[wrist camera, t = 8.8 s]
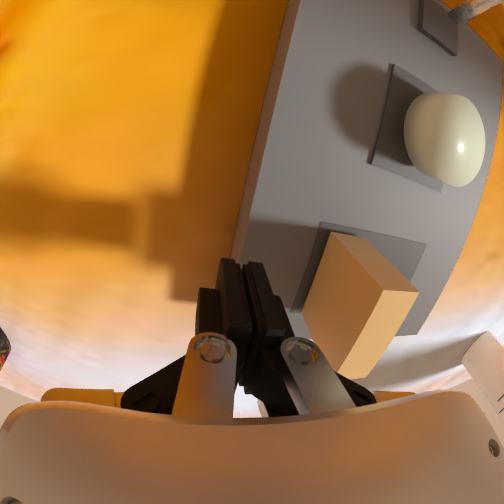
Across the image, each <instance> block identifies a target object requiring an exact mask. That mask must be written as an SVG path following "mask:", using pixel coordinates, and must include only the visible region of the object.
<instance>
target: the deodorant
mask: <svg viewBox="0 0 504 504" xmlns="http://www.w3.org/2000/svg"><path fill="white" fill-rule="evenodd" d="M10 351H11V346H10V342H9V340H8V338H7V336H6V335H5V333H4V332H3V330H2V329H1V328H0V371H1V369H2V367H3V365H4V363H5V361H6V359H7V357H8V355H9V353H10Z"/></svg>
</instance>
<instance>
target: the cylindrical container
mask: <svg viewBox="0 0 504 504" xmlns="http://www.w3.org/2000/svg"><path fill="white" fill-rule="evenodd" d="M461 362H462V364H463V365H464V367H465V368H466V369H467V371H468V372H469V373H470V375H471V376H472V378H473V379H474V380H475V382H476V383H477V385H478V386H479V387H480V389H481V390H482V392H483V393H484V395H485V396H486V398H487V399H488V400H489V402H490V404H491V405H492V407H493V408H494V410H495V411H496V413H497V414H499V413H500V412H501V411H502V410H503V409H504V347H503V346H502V345H501V344H500V342H499V341H498V340H497V339H496V338H495V337H494V336H493V334H492V333H491V332H490V331H487V332H485V333H483V334H482V335H481V336H480V337H479V338H478V339H477V340H476V341H475V342H474V343H473V344H472V345H471V346H470V347H469V349H468V350H467V351H466V353H465V354H464V356H463V358H462V361H461ZM499 418H500V419H501V421H502V422H503V424H504V410H503V411H502V412H501V413H500V414H499Z"/></svg>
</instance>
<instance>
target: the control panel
mask: <svg viewBox="0 0 504 504" xmlns="http://www.w3.org/2000/svg"><path fill="white" fill-rule="evenodd" d="M450 10H451V9H450V8H449V7H447V6H446V5H445V4H444V3H443V2H441V1H440V0H289V2H288V6H287V10H286V14H285V18H284V22H283V25H282V29H281V33H280V37H279V41H278V45H277V49H276V53H275V57H274V61H273V65H272V70H271V74H270V78H269V82H268V86H267V90H266V95H265V99H264V103H263V108H262V112H261V116H260V121H259V125H258V129H257V134H256V138H255V143H254V147H253V152H252V156H251V161H250V165H249V170H248V174H247V179H246V184H245V188H244V193H243V198H242V203H241V207H240V212H239V217H238V222H237V227H236V232H235V236H234V241H233V246H232V251H231V256H230V259H235V262H236V263H239V264H240V267H241V270H242V266H243V264H248V262H249V261H252V262H260V263H263V265H264V268H265V271H266V274H267V277H268V280H269V283H270V286H271V288H272V291H273V294H274V295H278V296H280V298H281V300H282V303H283V305H284V308H285V311H286V313H287V316H288V319H289V321H290V324H291V327H292V330H293V332H294V335H295V337H302V338H306V339H313V338H312V336H311V333H310V331H309V329H308V327H307V324H306V322H305V320H304V317H303V315H302V313H301V312H302V309H303V307H304V304H305V302H306V299H307V296H308V294H309V291H310V288H311V286H312V283H313V280H314V278H315V275H316V272H317V270H318V267H319V264H320V261H321V258H322V255H323V253H324V250H325V247H326V244H327V241H328V238H329V235H330V232H336V233H342V234H347V235H352V236H358V237H363V238H364V239H365V240H366V241H367V242H369V243H370V244H371V245H372V246H373V247H374V248H375V249H376V250H377V251H378V252H379V253H380V254H381V255H383V256H384V257H385V258H386V259H387V260H388V261H389V262H390V263H391V264H392V265H393V266H394V267H395V268H396V269H397V270H398V271H399V272H400V273H401V274H402V275H403V276H404V277H405V278H406V279H407V280H408V281H409V282H410V283H411V284H412V285H413V286H414V287H415V288H416V289H417V290H418V291H419V294H418V296H417V298H416V300H415V302H414V303H413V305H412V307H411V309H410V311H409V312H408V314H407V316H406V318H405V319H404V321H403V323H402V324H401V326H400V328H399V329H398V331H397V333H396V334H395V336H405V335H416V334H417V333H418V332H419V330H420V329H421V327H422V325H423V324H424V322H425V320H426V319H427V317H428V315H429V314H430V312H431V310H432V309H433V307H434V305H435V303H436V302H437V300H438V298H439V296H440V294H441V292H442V291H443V289H444V287H445V285H446V283H447V281H448V279H449V277H450V275H451V273H452V271H453V269H454V267H455V264H456V262H457V260H458V258H459V256H460V253H461V251H462V249H463V246H464V244H465V242H466V239H467V237H468V234H469V232H470V229H471V226H472V224H473V221H474V218H475V216H476V213H477V210H478V207H479V204H480V201H481V198H482V194H483V191H484V188H485V184H486V181H487V177H488V173H489V169H490V165H491V161H492V157H493V152H494V147H495V142H496V137H497V131H498V125H499V118H500V110H501V100H502V87H503V62H502V60H501V59H500V58H499V57H498V56H497V55H496V53H495V52H494V51H493V50H492V49H491V48H490V47H489V46H488V44H487V43H486V42H485V41H484V40H483V39H482V38H481V37H480V36H479V35H478V34H477V33H476V32H475V31H474V30H473V29H472V28H471V27H470V26H469V25H468V24H467V23H464V24H462V25H461V26H459V27H458V26H457V25H456V24H454V23H453V21H452V20H451V19H450V18H449V17H448V15H447V12H449V11H450ZM425 93H438V94H453V95H461V96H464V97H466V98H467V99H468V100H470V101H471V102H472V103H473V105H474V106H475V107H476V109H477V111H478V112H479V115H480V117H481V120H482V123H483V126H484V132H485V153H484V158H483V162H482V165H481V167H480V170H479V172H478V173H477V175H476V176H475V178H474V179H473V180H472V181H471V182H470V183H468V184H467V185H465V186H462V187H454V186H452V185H449V184H447V183H445V182H443V181H440V180H438V179H436V178H433V177H431V176H428V175H426V174H424V173H422V172H420V171H419V170H418V169H417V168H416V167H415V166H414V164H413V163H412V161H411V160H410V158H409V155H408V153H407V150H406V146H405V141H404V121H405V116H406V113H407V110H408V108H409V106H410V104H411V103H412V102H413V100H414V99H415V98H417V97H418V96H420V95H422V94H425Z"/></svg>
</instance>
